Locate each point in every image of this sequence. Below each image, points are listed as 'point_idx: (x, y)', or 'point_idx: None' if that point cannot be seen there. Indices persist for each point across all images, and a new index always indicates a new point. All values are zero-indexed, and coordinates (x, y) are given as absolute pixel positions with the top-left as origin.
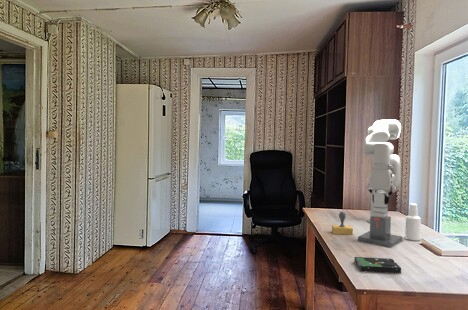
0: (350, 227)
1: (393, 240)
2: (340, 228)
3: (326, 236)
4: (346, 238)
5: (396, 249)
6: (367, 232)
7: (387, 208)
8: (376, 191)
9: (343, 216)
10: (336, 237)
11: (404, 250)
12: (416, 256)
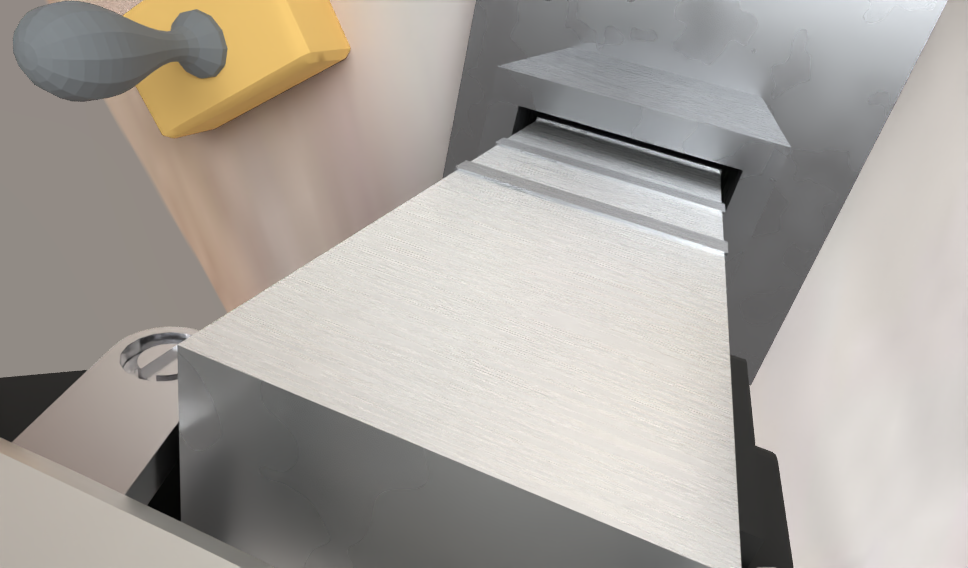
0: (279, 38)
1: (782, 273)
2: (214, 114)
3: (201, 235)
4: (342, 225)
5: (791, 405)
6: (478, 29)
7: (720, 239)
8: (166, 451)
9: (115, 94)
10: (269, 230)
11: (870, 413)
12: (953, 544)
